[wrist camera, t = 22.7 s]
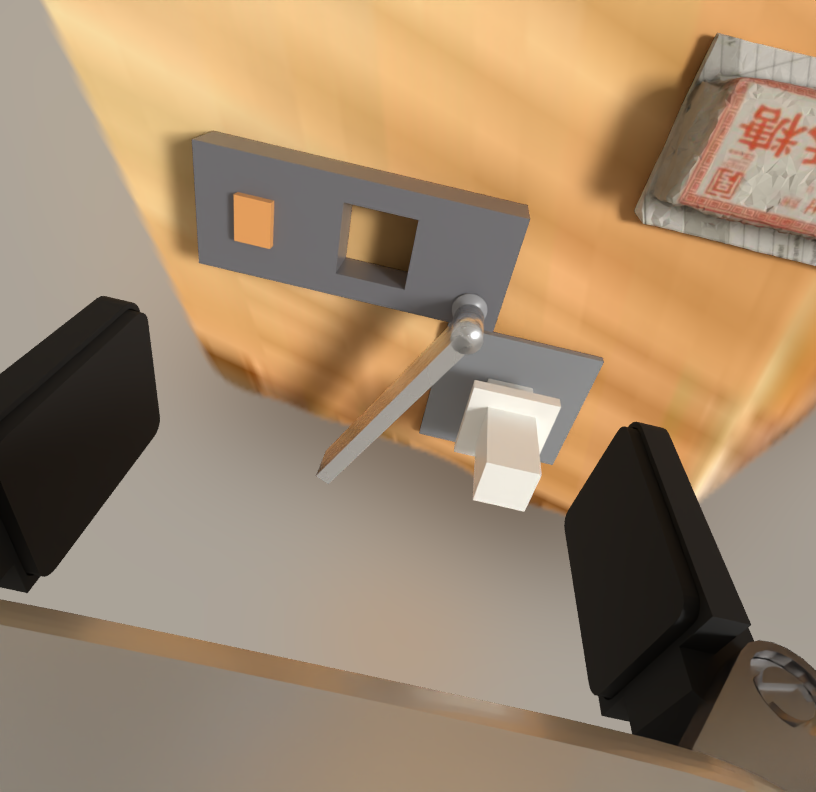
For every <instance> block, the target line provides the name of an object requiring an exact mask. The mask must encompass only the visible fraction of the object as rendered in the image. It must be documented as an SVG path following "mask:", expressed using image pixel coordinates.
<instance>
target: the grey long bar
mask: <svg viewBox="0 0 816 792" xmlns="http://www.w3.org/2000/svg"><path fill="white" fill-rule="evenodd" d="M483 330H484V315H483V312H482V310H481V309H480V308H479V307H477V306H475V305H471V304H466V305H463V306H460V307H459V308H458V309H457V310H456V311H455V313H454V318H453V322H452V323H451V324H450V325H449V326H448V327H447V328H446V329H445V330H444V331H443V332H442V333H441V334H440V335H439V336H438V337H437V338H436V339H435V340H434V341H433V343H432V344H431V345H430V346H429V347H428V348H427V349H426V350H425V351H424V352H423V353H422V354H421V355H420V356H419V357H418V358H417V359H416V360H415V361H414V362H413V363H412V364H411V365H410V366H409V367H408V368H407V369H406V370H405V371H404V372H403V373H402V374H401V375H400V376H399V377H398V378H397V379H396V380H395V381H394V382H393V383H392V384H391V385H390V386H389V387H388V388H387V389H386V390H385V391H384V392H383V393H382V394H381V395H380V396H379V397H378V398H377V399H376V400H375V401H374V402H373V403H372V404H371V405H370V407H369V408H368V409H367V410H366V411H365V412H364V413H363V414H362V415H361V416H360V417H359V418H358V419H357V420H356V421H355V422H354V423H353V424H352V425H351V426H350V427H349V428H348V429H347V430H346V431H345V432H344V433H343V434H342V435H341V436H340V437H339V438H338V439H337V440H336V441H335V442H334V443H333V444H332V445H331V446H330V447H329V448H328V449H327V450H326V452H325V454H324V457H323V459H322V462H321V464H320V467H319V470H318V472H317V474H316V477H318V478H320V479H321V480H323V481H325V482H326V483H327V484H329V483H330V482H331V481H332V480H333V479H334V478H335V477H336V476H337V475H338V474H339V473H341V472H342V471H343V470H344V469H345V468H346V467H347V466H348V465H349V464H350V463H351V462H352V461H353V460H354V459H355V458H356V457H358V455H360V454H361V453H362V452H363V451H364V450H365V449H366V448H367V447H368V446H369V445H370V444H371V443H372V442H373V441H374V440H375V439H377V438H378V437H379V436H380V435H381V434H382V433H383V432H384V431H385V430H386V429H387V428H388V427H389V426H390V425H391V424H392V423H393V422H394V421H396V420H397V419H398V418H399V417H400V416H401V415H402V414H403V413H404V412H405V411H406V410H407V409H408V408H409V407H410V406H411V405H412V404H413V403H415V402H416V401H417V400H418V399H419V398H420V397H421V396H422V395H423V394H424V393H425V392H426V391H427V390H428V389H429V388H430V387H431V386H432V385H434V384H435V383H436V382H437V381H438V380H439V379H440V378H441V377H442V376H443V375H444V374H445V373H446V372H447V371H448V370H449V369H450V368H452V367H453V366H454V365H455V364H456V363H457V362H458V361H459V360H460V359H461V358H462V357H463V356H464V355H465V354H466V355H468V354H473V353H475V352H477V351H478V350H479V349H480V348H481V346H482V344H483Z"/></svg>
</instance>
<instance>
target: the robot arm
mask: <svg viewBox="0 0 816 792" xmlns="http://www.w3.org/2000/svg"><path fill="white" fill-rule="evenodd" d="M159 423H160V414H159V406H158V399H157V390H156V382H155V374H154V367H153V358H152V350H151V342H150V333H149V325H148V319H147V316H146V315H145V314H144V313H141V312H140V310H139V308H138V306H137V305H136V304H135V303H132V302H127V301H124V300H119V299H115V298H111V297H107V296H101V297H99V298H97V299H96V300H94V301H93V302H92V303H90V304H89V305H88V306H87V307H85V308H84V309H83V310H82V311H80V312H79V313H78V314H76V315H75V316H74V317H73V318H71V319H70V320H69V321H67V322H66V323H65V324H64V325H62V326H61V327H60V328H58V329H57V330H56V331H55V332H53V333H52V334H51V335H49V336H48V337H47V338H46V339H44V340H43V341H42V342H40V343H39V344H38V345H37V346H35V347H34V348H33V349H31V350H30V351H29V352H28V353H26V354H25V355H24V356H23V357H21V358H20V359H19V360H17V361H16V362H15V363H14V364H12V365H11V366H10V367H9V368H7V369H6V370H5V371H3V372H2V373H1V374H0V587H2V588H6V589H12V590H16V591H20V592H25V593H28V592H29V590H30V589H31V588H32V586H33V585H34V584H35V583H36V581H37V580H38V578H39V577H40V576H44V577H45V576H48V575H49V574H51V573H52V572H53V571H54V570H55V569H56V567H57V566H58V565H59V563H60V562H61V561H62V559H63V558H64V557H65V555H66V554H67V553H68V551H69V550H70V549H71V547H72V546H73V545H74V543H75V542H76V541H77V539H78V538H79V537H80V535H81V534H82V533H83V531H84V530H85V529H86V527H87V526H88V524H89V523H90V522H91V520H92V519H93V518H94V516H95V515H96V514H97V512H98V511H99V510H100V508H101V507H102V506H103V504H104V503H105V502H106V500H107V499H108V498H109V496H110V495H111V494H112V492H113V491H114V490H115V488H116V487H117V486H118V484H119V483H120V482H121V480H122V479H123V478H124V476H125V475H126V474H127V472H128V471H129V469H130V468H131V467H132V466H133V464H134V463H135V462H136V460H137V459H138V457H139V456H140V455H141V453H142V452H143V451H144V449H145V448H146V447H147V445H148V444H149V443H150V441H151V440H152V439H153V437H154V436H155V434H156V433H157V430H158V427H159ZM564 526H565V534H566V541H567V547H568V554H569V560H570V566H571V572H572V579H573V586H574V592H575V598H576V605H577V611H578V618H579V624H580V630H581V637H582V643H583V649H584V655H585V662H586V668H587V675H588V681H589V686H590V689H591V691H592V693H593V694H594V695H597V696H598V697H599V703H600V709H601V715H602V716H606V717H611V718H615V719H620V720H624V721H629V722H630V726H631V730H632V734H628V733H624V732H620V731H615V730H611V729H607V728H603V727H599V726H594V725H590V724H586V723H582V722H578V721H573V720H569V719H565V718H560V717H556V716H552V715H547V714H542V713H538V712H533V711H529V710H524V709H520V708H515V707H510V706H506V705H501V704H497V703H492V702H487V701H483V700H478V699H474V698H469V697H464V696H460V695H455V694H450V693H446V692H441V691H437V690H432V689H427V688H423V687H419V686H414V685H410V684H405V683H400V682H396V681H391V680H386V679H381V678H377V677H372V676H368V675H363V674H358V673H353V672H349V671H344V670H339V669H335V668H330V667H325V666H321V665H316V664H311V663H307V662H301V661H297V660H292V659H288V658H282V657H278V656H274V655H269V654H264V653H260V652H255V651H250V650H245V649H240V648H236V647H231V646H227V645H221V644H217V643H212V642H207V641H202V640H198V639H193V638H188V637H183V636H178V635H174V634H168V633H164V632H159V631H154V630H150V629H145V628H140V627H135V626H130V625H125V624H120V623H116V622H111V621H106V620H101V619H97V618H92V617H87V616H82V615H78V614H73V613H68V612H63V611H58V610H53V609H47V608H42V607H37V606H32V605H27V604H22V603H16V602H11V601H6V600H0V792H816V670H815V669H814V668H813V667H812V666H811V665H809V664H808V663H807V662H806V661H805V660H804V659H803V658H801V657H800V656H798V655H797V654H795V653H794V652H792V651H791V650H789V649H788V648H785V647H783V646H781V645H778V644H776V643H773V642H768V641H761V640H758V641H754V640H753V638H752V635H751V633H750V631H749V628H748V627H749V626H750V625H751V623H750V621H749V619H748V616H747V614H746V612H745V609H744V607H743V605H742V602H741V600H740V598H739V596H738V593H737V591H736V589H735V586H734V584H733V582H732V579H731V577H730V575H729V572H728V570H727V568H726V565H725V563H724V561H723V559H722V556H721V554H720V552H719V549H718V547H717V544H716V542H715V540H714V537H713V536H712V533H711V531H710V528H709V526H708V524H707V521H706V519H705V517H704V514H703V512H702V510H701V507H700V505H699V503H698V500H697V498H696V496H695V493H694V491H693V489H692V486H691V484H690V482H689V479H688V477H687V475H686V472H685V470H684V468H683V466H682V463H681V461H680V459H679V456H678V454H677V452H676V449H675V447H674V445H673V442H672V440H671V438H670V435H669V433H668V432H667V430H666V429H664V428H661V427H657V426H652V425H648V424H644V423H640V422H633V423H632V424H630V425H629V427H621V428H620V429H619V430H618V432H617V433H616V435H615V436H614V438H613V440H612V441H611V443H610V444H609V446H608V448H607V449H606V451H605V452H604V454H603V456H602V457H601V459H600V460H599V462H598V464H597V465H596V467H595V468H594V470H593V472H592V473H591V475H590V476H589V478H588V480H587V481H586V483H585V484H584V486H583V488H582V489H581V491H580V492H579V494H578V496H577V497H576V499H575V500H574V502H573V504H572V505H571V507H570V508H569V510H568V512H567V514H566V517H565V525H564Z"/></svg>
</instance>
